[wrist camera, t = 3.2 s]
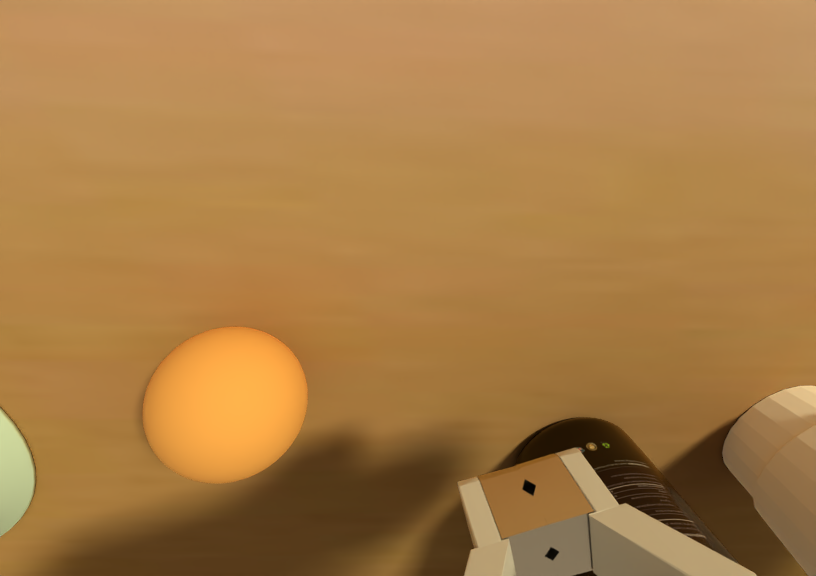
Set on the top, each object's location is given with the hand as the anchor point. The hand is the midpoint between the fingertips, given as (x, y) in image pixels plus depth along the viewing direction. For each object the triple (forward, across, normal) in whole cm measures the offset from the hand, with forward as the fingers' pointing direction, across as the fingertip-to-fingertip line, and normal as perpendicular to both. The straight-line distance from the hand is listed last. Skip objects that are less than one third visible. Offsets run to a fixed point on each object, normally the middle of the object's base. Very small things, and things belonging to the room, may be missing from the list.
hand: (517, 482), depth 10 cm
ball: (+6, +8, -1) cm, 11 cm away
